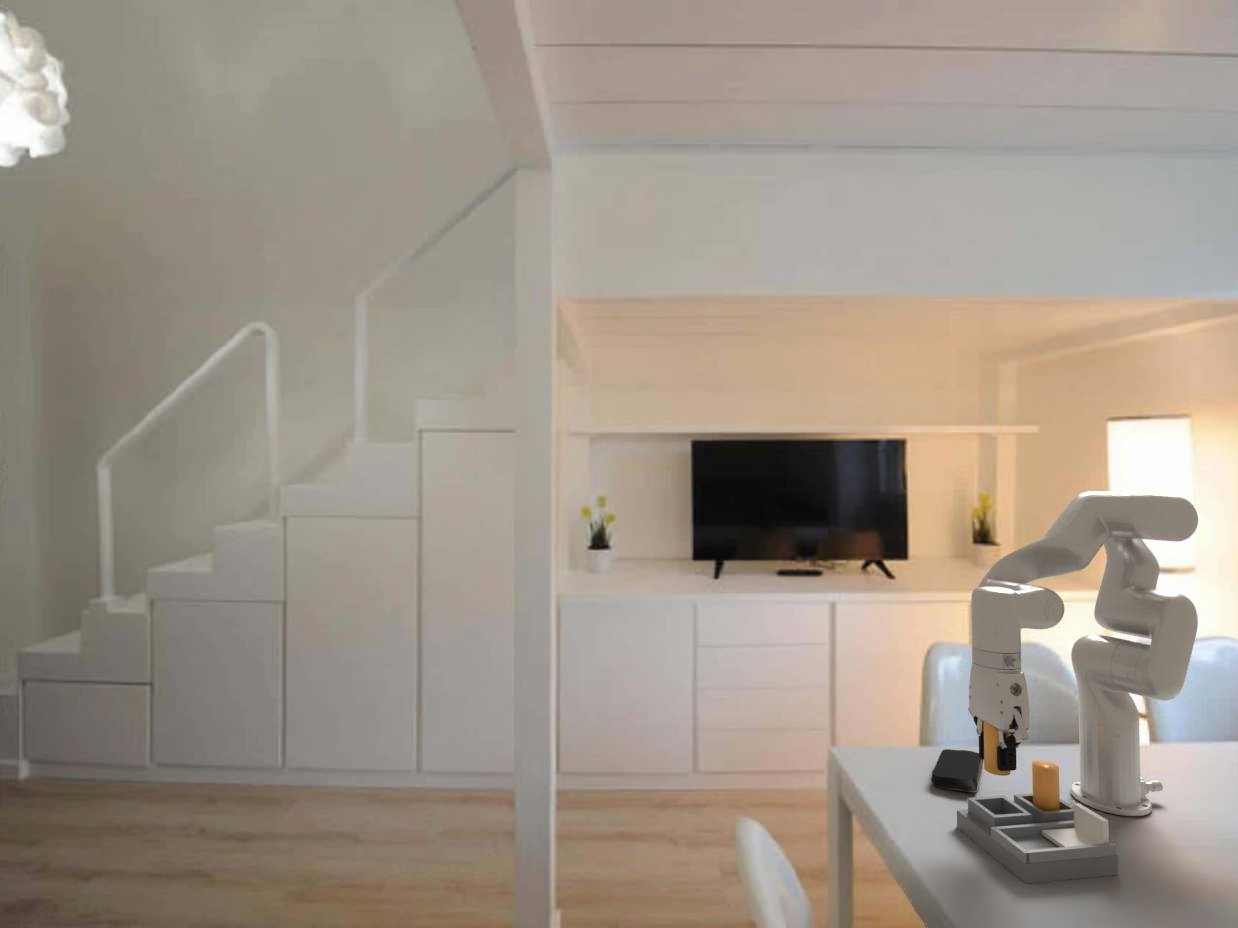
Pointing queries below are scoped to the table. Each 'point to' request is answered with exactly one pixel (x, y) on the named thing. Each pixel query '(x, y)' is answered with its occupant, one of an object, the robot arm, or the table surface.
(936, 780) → the black sponge
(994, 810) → the housing
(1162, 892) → the table surface
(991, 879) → the table surface
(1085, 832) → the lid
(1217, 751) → the table surface
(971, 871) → the table surface
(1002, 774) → the peg
